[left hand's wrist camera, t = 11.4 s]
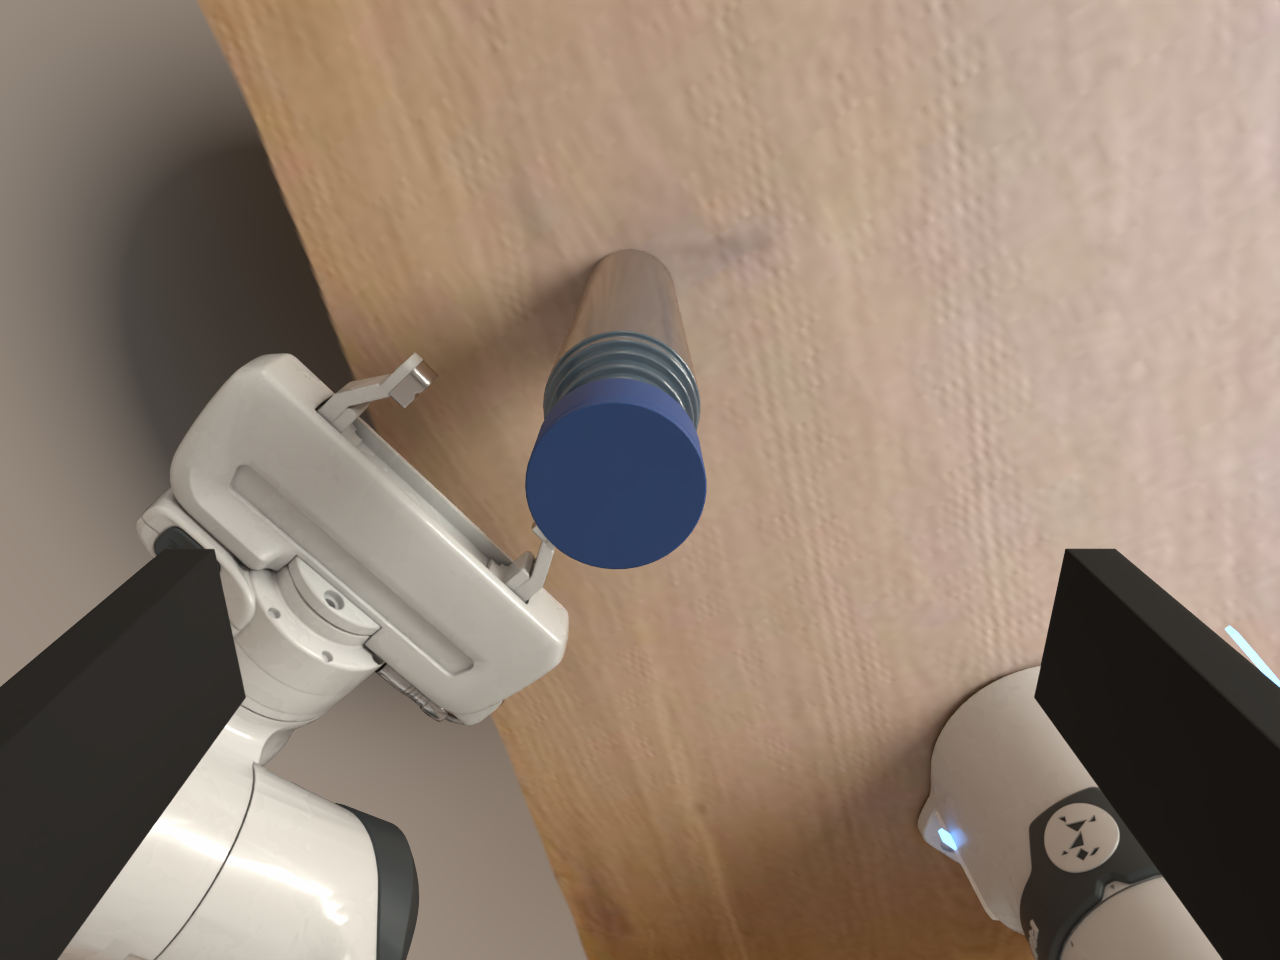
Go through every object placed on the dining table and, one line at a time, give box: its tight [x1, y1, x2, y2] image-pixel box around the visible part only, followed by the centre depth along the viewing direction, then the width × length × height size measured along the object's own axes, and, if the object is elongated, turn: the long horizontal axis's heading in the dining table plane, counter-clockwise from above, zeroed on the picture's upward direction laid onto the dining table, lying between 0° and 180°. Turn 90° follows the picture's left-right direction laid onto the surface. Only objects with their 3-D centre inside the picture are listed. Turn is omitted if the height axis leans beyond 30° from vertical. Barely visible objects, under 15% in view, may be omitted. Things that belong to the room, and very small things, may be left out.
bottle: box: [543, 250, 700, 431], centre depth 31 cm, size 5×4×26 cm
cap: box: [525, 378, 706, 569], centre depth 19 cm, size 4×4×2 cm
